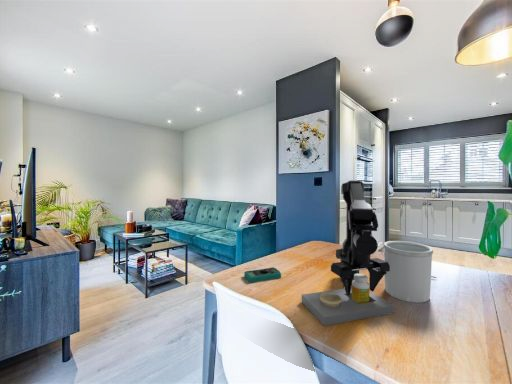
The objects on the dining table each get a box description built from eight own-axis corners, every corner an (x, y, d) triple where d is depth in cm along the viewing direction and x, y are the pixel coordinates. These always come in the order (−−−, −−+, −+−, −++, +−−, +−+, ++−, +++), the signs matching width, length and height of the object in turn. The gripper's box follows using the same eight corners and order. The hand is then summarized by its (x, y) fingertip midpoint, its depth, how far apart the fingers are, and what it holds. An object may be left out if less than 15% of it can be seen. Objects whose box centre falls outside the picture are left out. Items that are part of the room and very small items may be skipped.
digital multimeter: (282, 278, 101) (282, 271, 101) (249, 284, 95) (249, 276, 95) (275, 272, 108) (275, 266, 108) (243, 277, 102) (243, 270, 102)
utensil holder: (419, 308, 76) (420, 254, 75) (374, 290, 89) (375, 243, 88) (439, 296, 84) (441, 247, 83) (395, 281, 96) (396, 238, 96)
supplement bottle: (360, 310, 75) (361, 280, 75) (347, 302, 80) (348, 274, 79) (373, 307, 77) (373, 277, 77) (359, 299, 82) (360, 271, 82)
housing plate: (361, 292, 87) (361, 281, 87) (393, 313, 73) (393, 300, 73) (301, 301, 80) (301, 290, 80) (324, 326, 67) (324, 312, 67)
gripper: (366, 238, 88) (366, 279, 89) (321, 241, 83) (321, 286, 83) (391, 246, 77) (390, 293, 78) (341, 250, 72) (341, 301, 73)
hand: (359, 292), depth 78 cm, fingers open, 9 cm apart
